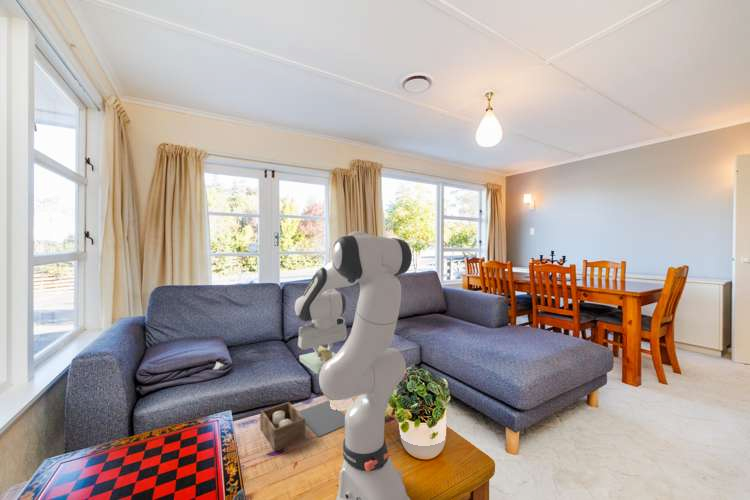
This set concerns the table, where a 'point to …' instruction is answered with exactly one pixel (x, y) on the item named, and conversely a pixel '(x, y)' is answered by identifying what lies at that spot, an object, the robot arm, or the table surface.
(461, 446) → the table surface
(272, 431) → the box
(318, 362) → the lid
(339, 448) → the table surface
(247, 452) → the table surface
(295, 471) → the table surface
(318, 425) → the mat
